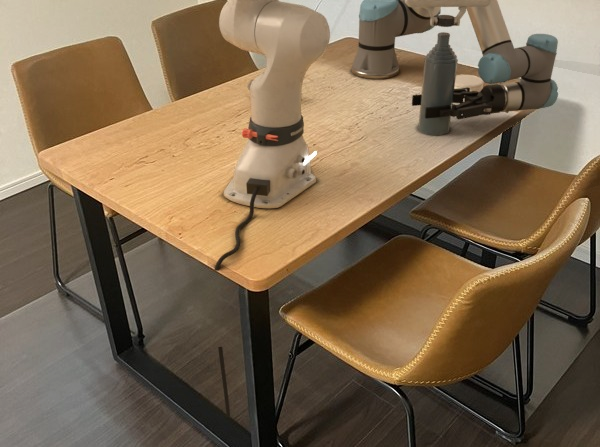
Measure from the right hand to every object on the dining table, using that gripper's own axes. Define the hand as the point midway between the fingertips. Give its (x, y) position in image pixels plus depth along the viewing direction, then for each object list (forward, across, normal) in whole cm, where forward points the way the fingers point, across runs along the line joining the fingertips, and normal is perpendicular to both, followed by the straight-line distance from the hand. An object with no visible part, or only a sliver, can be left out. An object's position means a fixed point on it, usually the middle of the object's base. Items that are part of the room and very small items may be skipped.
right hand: (419, 106), depth 160 cm
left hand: (-5, 0, +20) cm, 21 cm away
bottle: (-5, 0, -7) cm, 8 cm away
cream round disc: (-25, +24, -7) cm, 35 cm away
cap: (-5, 0, +22) cm, 23 cm away
